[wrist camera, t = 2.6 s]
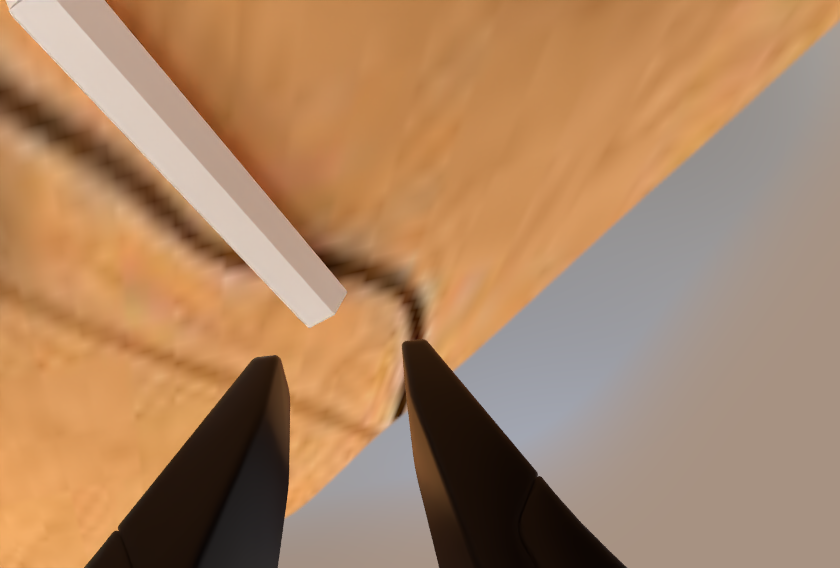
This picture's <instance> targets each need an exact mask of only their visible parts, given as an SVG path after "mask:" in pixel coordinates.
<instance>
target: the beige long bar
mask: <svg viewBox="0 0 840 568" xmlns="http://www.w3.org/2000/svg"><path fill="white" fill-rule="evenodd" d="M6 2H7V5H8V8H9V12H10V14H11V15H12V17H13V18H14V19H15V20H16V21H17V22H18V23H19V24H20V25H21V26H22V27H23V28H24V30H25V31H26V32H27V33H28V34H29V35H30V36H31V37H32V38H33V39H34V40H35V41H36V42H37V43H38V44H39V45H40V46H41V47H42V49H43V50H44V51H45V52H46V53H47V54H48V55H49V56H50V57H51V58H52V59H53V60H54V61H55V62H56V63H57V64H58V65H59V66H60V67H61V69H62V70H63V71H64V72H65V73H66V74H67V75H68V76H69V77H70V78H71V79H72V80H73V81H74V82H75V83H76V84H77V85H78V86H79V88H80V89H81V90H82V91H83V92H84V93H85V94H86V95H87V96H88V97H89V98H90V99H91V100H92V101H93V102H94V103H95V104H96V105H97V106H98V108H99V109H100V110H101V111H102V112H103V113H104V114H105V115H106V116H107V117H108V118H109V119H110V120H111V121H112V122H113V123H114V124H115V125H116V126H117V128H118V129H119V130H120V131H121V132H122V133H123V134H124V135H125V136H126V137H127V138H128V139H129V140H130V141H131V142H132V143H133V144H134V145H135V147H136V148H137V149H138V150H139V151H140V152H141V153H142V154H143V155H144V156H145V157H146V158H147V159H148V160H149V161H150V162H151V163H152V164H153V165H154V167H155V168H156V169H157V170H158V171H159V172H160V173H161V174H162V175H163V176H164V177H165V178H166V179H167V180H168V181H169V182H170V183H171V184H172V186H173V187H174V188H175V189H176V190H177V191H178V192H179V193H180V194H181V195H182V196H183V197H184V198H185V199H186V200H187V201H188V202H189V203H190V204H191V206H192V207H193V208H194V209H195V210H196V211H197V212H198V213H199V214H200V215H201V216H202V217H203V218H204V219H205V220H206V221H207V222H208V223H209V225H210V226H211V227H212V228H213V229H214V230H215V231H216V232H217V233H218V234H219V235H220V236H221V237H222V238H223V239H224V240H225V241H226V242H227V243H228V245H229V246H230V247H231V248H232V249H233V250H234V251H235V252H236V253H237V254H238V255H239V256H240V257H241V258H242V259H243V260H244V261H245V262H246V264H247V265H248V266H249V267H250V268H251V269H252V270H253V271H254V272H255V273H256V274H257V275H258V276H259V277H260V278H261V279H262V280H263V281H264V282H265V284H266V285H267V286H268V287H269V288H270V289H271V290H272V291H273V292H274V293H275V294H276V295H277V296H278V297H279V298H280V299H281V300H282V301H283V302H284V304H285V305H286V306H287V307H288V308H289V309H290V310H291V311H292V312H293V313H294V314H295V315H296V316H297V317H298V318H299V319H300V320H301V321H302V322H303V323H304V324H305V325H306V326H307V327H308V328H310V327H312V326H314V325H316V324H318V323H320V322H322V321H324V320H326V319H328V318H329V317H331V316H333V315H335V313H336V312H337V310H338V308H339V306H340V305H341V303H342V301H343V299H344V297H345V296H346V294H347V290H346V289H345V288H344V287H343V286H342V284H341V283H340V282H339V281H338V280H337V278H336V277H335V276H334V275H333V274H332V272H331V271H330V270H329V269H328V268H327V266H326V265H325V264H324V263H323V262H322V260H321V259H320V258H319V257H318V256H317V254H316V253H315V252H314V251H313V250H312V248H311V247H310V246H309V245H308V244H307V242H306V241H305V240H304V239H303V238H302V236H301V235H300V234H299V233H298V232H297V230H296V229H295V228H294V227H293V226H292V224H291V223H290V222H289V221H288V220H287V218H286V217H285V216H284V215H283V214H282V212H281V211H280V210H279V209H278V208H277V206H276V205H275V204H274V203H273V202H272V200H271V199H270V198H269V197H268V196H267V194H266V193H265V192H264V191H263V190H262V188H261V187H260V186H259V185H258V184H257V182H256V181H255V180H254V179H253V178H252V176H251V175H250V174H249V173H248V172H247V170H246V169H245V168H244V167H243V166H242V164H241V163H240V162H239V161H238V160H237V158H236V157H235V156H234V155H233V154H232V152H231V151H230V150H229V149H228V148H227V146H226V145H225V144H224V143H223V142H222V140H221V139H220V138H219V137H218V136H217V134H216V133H215V132H214V131H213V130H212V128H211V127H210V126H209V125H208V124H207V122H206V121H205V120H204V119H203V118H202V116H201V115H200V114H199V113H198V112H197V110H196V109H195V108H194V107H193V106H192V104H191V103H190V102H189V101H188V100H187V98H186V97H185V96H184V95H183V94H182V92H181V91H180V90H179V89H178V88H177V86H176V85H175V84H174V83H173V82H172V80H171V79H170V78H169V77H168V76H167V74H166V73H165V72H164V71H163V70H162V68H161V67H160V66H159V65H158V64H157V62H156V61H155V60H154V59H153V58H152V56H151V55H150V54H149V53H148V52H147V51H146V49H145V48H144V47H143V46H142V45H141V43H140V42H139V41H138V40H137V39H136V37H135V36H134V35H133V34H132V33H131V31H130V30H129V29H128V28H127V27H126V25H125V24H124V23H123V22H122V21H121V19H120V18H119V17H118V16H117V15H116V13H115V12H114V11H113V10H112V9H111V7H110V6H109V5H108V4H107V3H106V1H105V0H6Z"/></svg>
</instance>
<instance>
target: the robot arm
mask: <svg viewBox="0 0 840 568" xmlns="http://www.w3.org/2000/svg"><path fill="white" fill-rule="evenodd" d="M402 354H403V367H404V379H405V388H406V397H407V406H408V414H409V422H410V431H411V440H412V448H413V457H414V463H415V469H416V474H417V478H418V483H419V487H420V491H421V495H422V499H423V503H424V507H425V511H426V515H427V519H428V523H429V528H430V532H431V536H432V539H433V544H434V548H435V552H436V556H437V560H438V564H439V568H627V567H626V566H624V564H623V563H622V562H620V561H619V560H618V559H617V558H616V557H615V556H614V555H613V554H612V553H611V552H610V551H609V550H608V549H607V548H606V547H605V546H604V545H603V544H602V543H601V542H600V541H599V540H598V539H597V538H596V537H595V536H594V535H593V534H592V533H591V532H590V531H589V530H588V529H587V528H586V527H585V526H584V525H583V524H582V523H581V522H580V521H579V520H578V519H577V518H576V516H575V515H574V514H573V513H572V512H571V511H570V510H569V509H568V508H567V506H566V505H565V504H564V503H563V502H562V501H561V500H560V499H559V497H558V496H557V495H556V494H555V493H554V492H553V490H552V489H551V488H550V487H549V486H548V484H547V483H546V482H545V481H544V480H543V478H542V477H540V476H538V474H537V472H536V470H535V469H534V468H533V467H532V466H531V464H530V463H529V462H528V461H527V460H526V459H525V457H524V456H523V455H522V454H521V452H520V451H519V450H518V449H517V448H516V447H515V445H514V444H513V443H512V442H511V441H510V439H509V438H508V437H507V436H506V435H505V434H504V432H503V431H502V430H501V429H500V428H499V426H498V425H497V424H496V423H495V421H494V420H493V419H492V418H491V417H490V415H489V414H488V413H487V412H486V411H485V410H484V408H483V407H482V406H481V405H480V404H479V402H478V401H477V400H476V399H475V398H474V396H473V395H472V394H471V393H470V392H469V391H468V389H467V388H466V387H465V386H464V384H463V383H462V382H461V381H460V380H459V379H458V377H457V376H456V375H455V374H454V373H453V371H452V370H451V369H450V368H449V367H448V365H447V364H446V363H445V362H444V361H443V359H442V358H441V357H440V356H439V355H438V353H437V352H436V351H435V350H434V349H433V348H432V346H431V345H430V344H429V343H428V342H427V341H426V340H424V339H420V340H411V341H405V342H403V344H402ZM289 442H290V394H289V388H288V384H287V381H286V377H285V373H284V369H283V365H282V362H281V359H280V358H279V357H278V356H276V355H273V356H264V357H257V358H254V359H253V360H252V361H251V362H250V363H249V365H248V366H247V367H246V368H245V370H244V371H243V372H242V373H241V374H240V376H239V377H238V378H237V379H236V381H235V382H234V383H233V384H232V386H231V387H230V388H229V389H228V391H227V392H226V393H225V394H224V396H223V397H222V398H221V399H220V401H219V402H218V403H217V404H216V406H215V407H214V408H213V409H212V410H211V412H210V413H209V414H208V415H207V417H206V418H205V419H204V420H203V422H202V423H201V424H200V425H199V427H198V428H197V429H196V430H195V432H194V433H193V434H192V435H191V437H190V438H189V439H188V440H187V442H186V443H185V444H184V445H183V446H182V448H181V449H180V450H179V451H178V453H177V454H176V455H175V456H174V458H173V459H172V460H171V461H170V463H169V464H168V465H167V466H166V468H165V469H164V470H163V471H162V473H161V474H160V475H159V476H158V478H157V479H156V480H155V481H154V482H153V484H152V485H151V486H150V487H149V489H148V490H147V491H146V492H145V494H144V495H143V496H142V497H141V499H140V500H139V501H138V502H137V504H136V505H135V506H134V507H133V509H132V510H131V511H130V512H129V514H128V515H127V516H126V517H125V518H124V520H123V521H122V522H121V523H120V525H119V526H118V530H119V531H114V532H113V533H112V534H111V536H110V537H109V538H108V539H107V540H106V542H105V543H104V544H103V545H102V547H101V548H100V549H99V550H98V552H97V553H96V554H95V555H94V557H93V558H92V559H91V560H90V561H89V562H88V564H87V565H86V566H85V567H84V568H278V561H279V554H280V547H281V539H282V532H283V524H284V517H285V510H286V503H287V494H288V485H289ZM537 476H538V477H537Z"/></svg>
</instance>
